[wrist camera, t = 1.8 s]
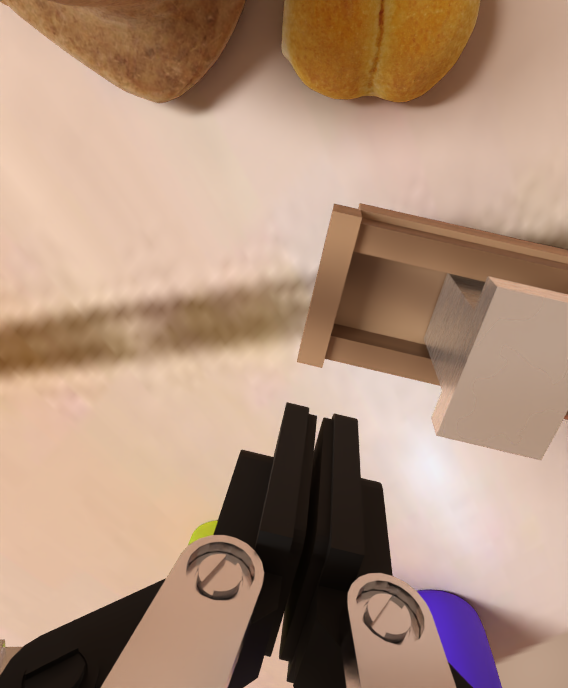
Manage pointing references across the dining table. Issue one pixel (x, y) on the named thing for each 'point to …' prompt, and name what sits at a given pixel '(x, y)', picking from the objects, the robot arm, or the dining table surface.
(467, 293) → the rider
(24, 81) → the dining table surface
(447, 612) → the bottle
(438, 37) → the bread roll
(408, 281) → the beam
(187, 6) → the stone cup
